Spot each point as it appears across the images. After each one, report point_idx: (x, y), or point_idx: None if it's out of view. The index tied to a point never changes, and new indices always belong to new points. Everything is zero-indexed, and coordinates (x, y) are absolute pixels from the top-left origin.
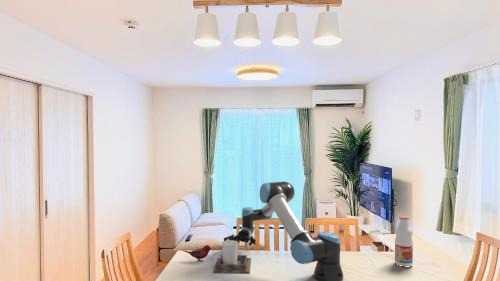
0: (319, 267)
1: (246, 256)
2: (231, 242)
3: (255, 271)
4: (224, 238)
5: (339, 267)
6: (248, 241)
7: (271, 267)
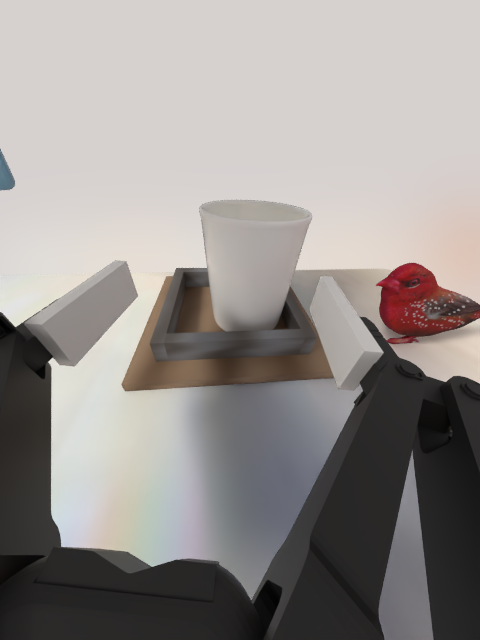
0: None
1: (157, 327)
2: (257, 239)
3: (143, 291)
4: (459, 376)
5: None
6: (79, 294)
7: None
